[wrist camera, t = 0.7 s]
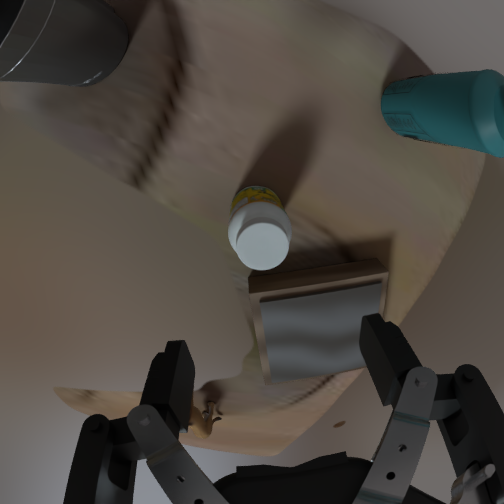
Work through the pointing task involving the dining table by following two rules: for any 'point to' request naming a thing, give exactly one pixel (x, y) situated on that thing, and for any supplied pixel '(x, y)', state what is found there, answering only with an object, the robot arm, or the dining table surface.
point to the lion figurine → (201, 420)
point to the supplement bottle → (259, 228)
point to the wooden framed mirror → (314, 318)
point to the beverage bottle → (449, 109)
